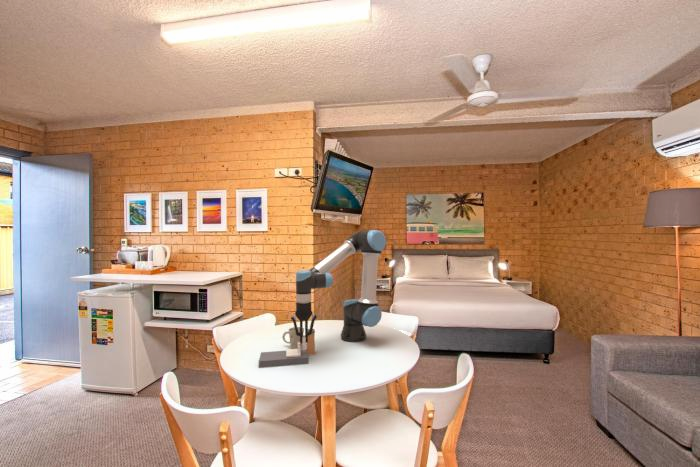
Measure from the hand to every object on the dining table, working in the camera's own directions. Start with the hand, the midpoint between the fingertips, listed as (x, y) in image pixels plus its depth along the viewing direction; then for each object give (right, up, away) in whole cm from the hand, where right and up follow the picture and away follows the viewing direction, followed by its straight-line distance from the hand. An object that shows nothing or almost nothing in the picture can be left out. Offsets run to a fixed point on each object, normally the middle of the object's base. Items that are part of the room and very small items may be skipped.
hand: (303, 349), depth 162 cm
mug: (-9, -6, +19) cm, 21 cm away
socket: (-10, -5, -2) cm, 11 cm away
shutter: (-5, -2, -1) cm, 6 cm away
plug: (+2, -5, +9) cm, 10 cm away
